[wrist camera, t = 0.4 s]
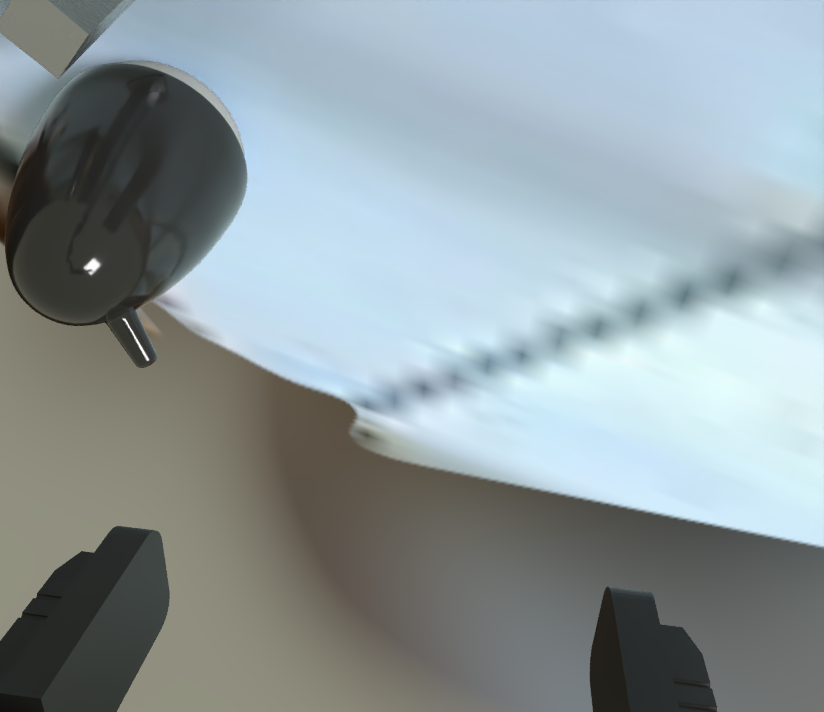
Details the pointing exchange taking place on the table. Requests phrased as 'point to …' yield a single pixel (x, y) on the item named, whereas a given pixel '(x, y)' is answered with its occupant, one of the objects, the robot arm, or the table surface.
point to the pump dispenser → (121, 196)
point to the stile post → (58, 28)
